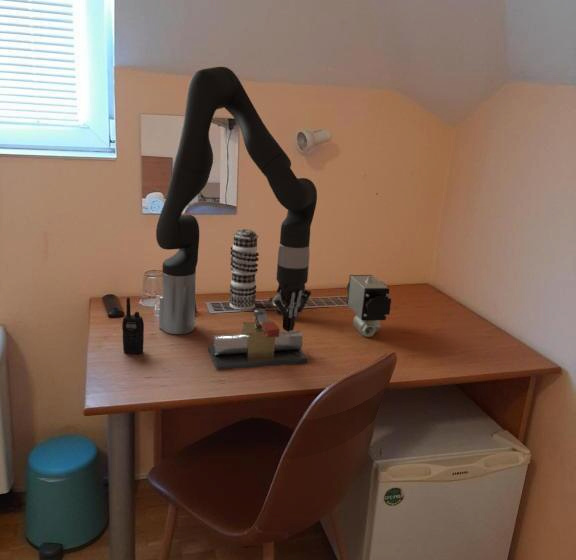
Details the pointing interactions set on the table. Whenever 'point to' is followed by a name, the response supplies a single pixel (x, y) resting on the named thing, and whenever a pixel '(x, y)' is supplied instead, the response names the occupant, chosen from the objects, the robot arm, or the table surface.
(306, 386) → the table surface
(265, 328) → the valve lever
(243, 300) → the black and white cylinder
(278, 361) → the valve board
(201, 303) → the table surface
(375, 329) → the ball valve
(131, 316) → the two-way radio
